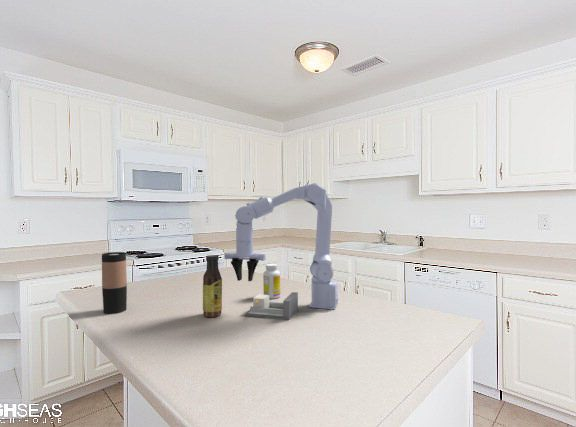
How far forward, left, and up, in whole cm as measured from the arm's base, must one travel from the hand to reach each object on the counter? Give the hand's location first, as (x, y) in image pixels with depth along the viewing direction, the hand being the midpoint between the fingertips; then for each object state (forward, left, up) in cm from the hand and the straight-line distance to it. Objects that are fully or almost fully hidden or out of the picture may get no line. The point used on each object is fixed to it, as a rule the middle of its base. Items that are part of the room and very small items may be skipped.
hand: (244, 280), depth 119 cm
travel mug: (+44, +12, -11) cm, 46 cm away
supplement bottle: (-3, -19, -11) cm, 22 cm away
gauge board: (-10, 0, -10) cm, 14 cm away
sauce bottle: (+9, +7, -11) cm, 16 cm away
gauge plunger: (-6, +1, -9) cm, 11 cm away
